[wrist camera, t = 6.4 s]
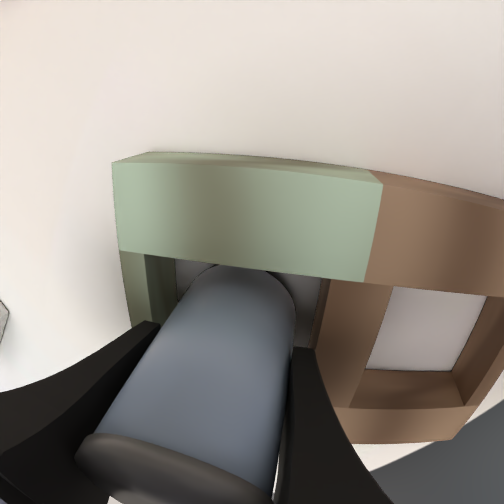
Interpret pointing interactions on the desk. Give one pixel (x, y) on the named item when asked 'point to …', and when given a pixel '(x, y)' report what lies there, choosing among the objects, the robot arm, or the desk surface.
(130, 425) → the tube
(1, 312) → the supplement box
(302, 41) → the desk surface
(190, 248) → the rack
